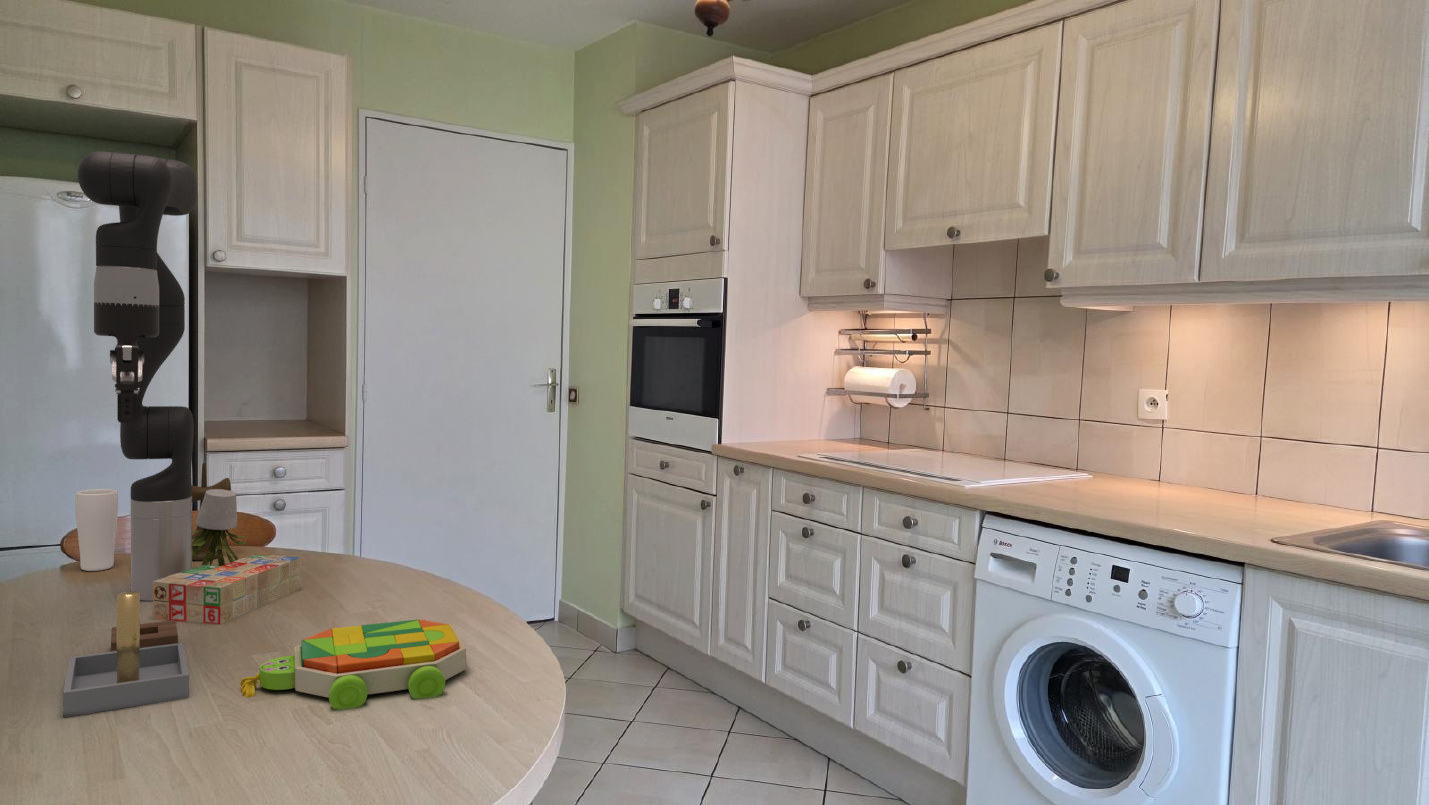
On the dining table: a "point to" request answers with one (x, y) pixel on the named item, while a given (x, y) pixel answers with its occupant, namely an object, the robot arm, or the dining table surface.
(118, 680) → the pin
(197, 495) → the kendama
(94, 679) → the pin tray
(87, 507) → the drinking glass
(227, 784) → the dining table surface
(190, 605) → the stack of blocks
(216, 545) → the house plant
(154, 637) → the pin base
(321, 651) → the wooden turtle toy
